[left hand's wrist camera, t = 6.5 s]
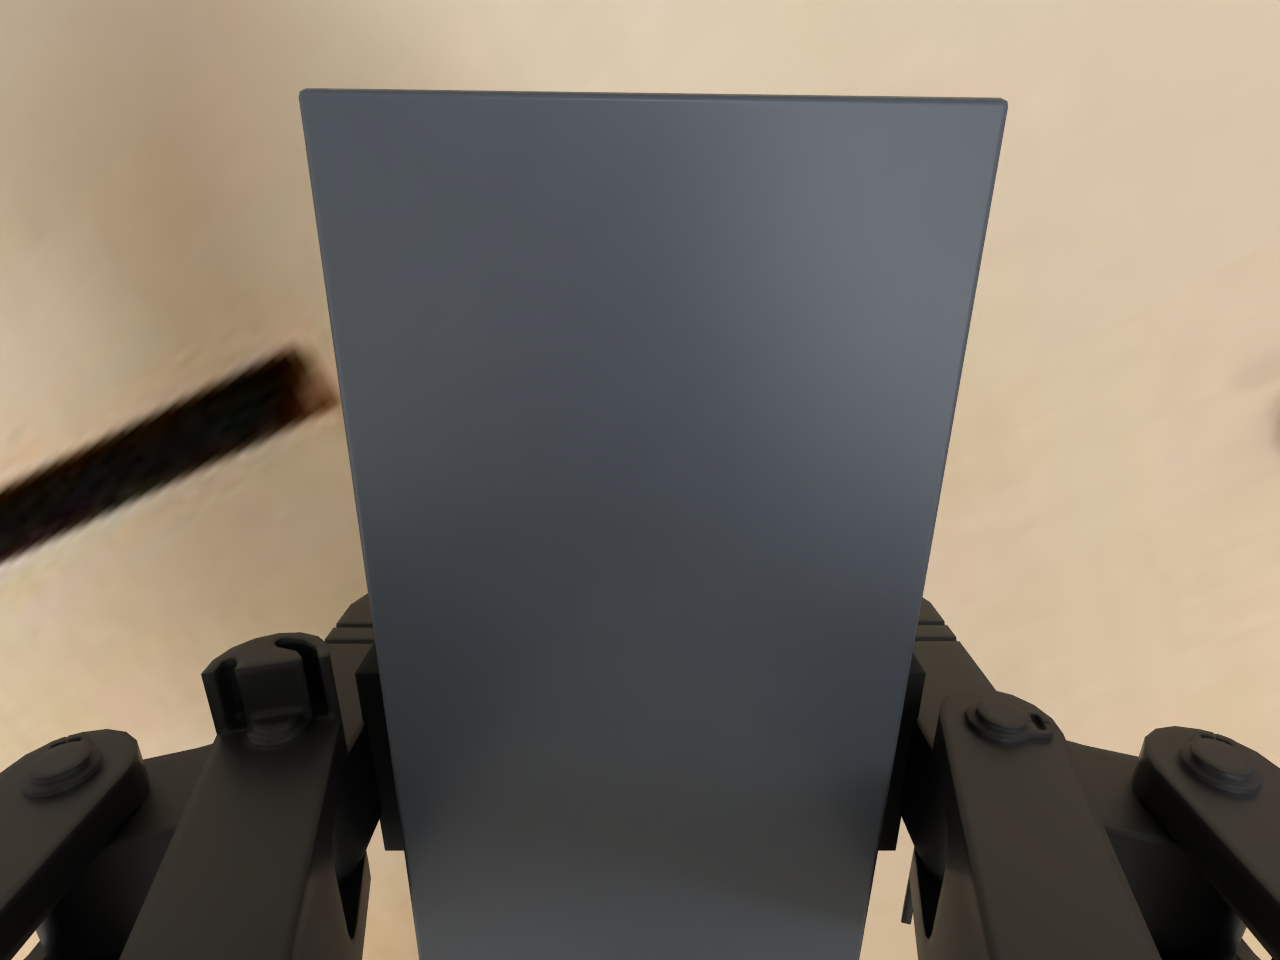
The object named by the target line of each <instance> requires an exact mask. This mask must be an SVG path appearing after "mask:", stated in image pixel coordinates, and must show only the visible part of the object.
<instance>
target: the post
mask: <svg viewBox="0 0 1280 960" xmlns="http://www.w3.org/2000/svg"><path fill="white" fill-rule="evenodd" d="M299 101H300V108H301V115H302V123H303V130H304V137H305V144H306V151H307V158H308V166H309V173H310V180H311V187H312V194H313V201H314V208H315V216H316V223H317V230H318V237H319V244H320V251H321V259H322V266H323V273H324V280H325V287H326V294H327V301H328V309H329V316H330V323H331V330H332V337H333V344H334V352H335V359H336V366H337V373H338V380H339V387H340V394H341V402H342V409H343V416H344V423H345V430H346V437H347V445H348V452H349V459H350V466H351V473H352V480H353V487H354V495H355V502H356V509H357V516H358V523H359V530H360V538H361V545H362V552H363V559H364V566H365V573H366V580H367V588H368V595H369V602H370V609H371V616H372V623H373V631H374V638H375V645H376V652H377V659H378V666H379V673H380V681H381V688H382V695H383V702H384V709H385V716H386V724H387V731H388V738H389V745H390V752H391V759H392V767H393V774H394V781H395V788H396V795H397V802H398V809H399V817H400V824H401V831H402V838H403V845H404V852H405V860H406V867H407V874H408V881H409V888H410V895H411V902H412V910H413V917H414V924H415V931H416V938H417V945H418V953H419V960H859V957H860V951H861V945H862V940H863V934H864V928H865V923H866V917H867V911H868V905H869V900H870V894H871V888H872V882H873V877H874V871H875V865H876V860H877V854H878V848H879V842H880V837H881V831H882V825H883V819H884V814H885V808H886V802H887V797H888V791H889V785H890V779H891V774H892V768H893V762H894V756H895V751H896V745H897V739H898V734H899V728H900V722H901V716H902V711H903V705H904V699H905V693H906V688H907V682H908V676H909V670H910V665H911V659H912V653H913V648H914V642H915V636H916V630H917V625H918V619H919V613H920V607H921V602H922V596H923V590H924V585H925V579H926V573H927V567H928V562H929V556H930V550H931V544H932V539H933V533H934V527H935V522H936V516H937V510H938V504H939V499H940V493H941V487H942V481H943V476H944V470H945V464H946V459H947V453H948V447H949V441H950V436H951V430H952V424H953V418H954V413H955V407H956V401H957V396H958V390H959V384H960V378H961V373H962V367H963V361H964V355H965V350H966V344H967V338H968V333H969V327H970V321H971V315H972V310H973V304H974V298H975V292H976V287H977V281H978V275H979V270H980V264H981V258H982V252H983V247H984V241H985V235H986V229H987V224H988V218H989V212H990V206H991V201H992V195H993V189H994V184H995V178H996V172H997V166H998V161H999V155H1000V149H1001V143H1002V138H1003V132H1004V126H1005V121H1006V115H1007V109H1008V104H1007V101H1006V100H1004V99H1002V98H972V97H900V96H827V95H754V94H682V93H609V92H536V91H464V90H391V89H319V88H306V89H304V90H302V91H300V93H299Z"/></svg>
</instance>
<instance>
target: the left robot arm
mask: <svg viewBox="0 0 1280 960" xmlns="http://www.w3.org/2000/svg"><path fill="white" fill-rule="evenodd" d="M201 676H202V680H203V683H204V687H205V691H206V695H207V698H208V702H209V706H210V710H211V714H212V717H213V721H214V725H215V729H216V733H217V736H216V738H215V740H214V743H213V744H210V745H207V746H203V747H200V748H196V749H191V750H186V751H182V752H177V753H172V754H168V755H163V756H158V757H153V758H149V759H144V760H143V759H142V756H141V752H140V749H139V746H138V743H137V740H136V739H134V738H133V737H132V736H131V735H129V734H128V733H127V732H124V731H117V730H110V729H104V730H96V731H88V732H81V733H78V734H74V735H69V736H68V737H63V738H60V739H58V740H55V741H52V742H50V743H48V744H47V745H45V746H43V747H41V748H39V749H37V750H35V751H33V752H30V753H28V754H26V755H25V756H23V757H22V758H20V759H19V760H18V761H16V762H15V763H14V764H12V765H11V766H9V767H8V768H7V769H5V770H4V771H2V772H1V773H0V960H11V959H12V958H13V957H14V956H15V954H16V953H17V952H18V951H19V950H20V948H21V947H22V946H23V945H24V944H25V942H26V941H27V940H28V939H29V938H30V936H31V935H32V934H33V933H34V931H35V930H36V932H37V934H38V937H39V939H40V941H39V943H38V944H37V945H36V946H35V948H34V949H33V950H32V951H31V953H30V954H29V955H28V956H27V957H26V958H25V959H24V960H362V954H363V945H364V936H365V927H366V918H367V908H368V899H369V890H370V881H371V876H370V869H369V863H368V857H367V852H366V849H367V847H368V844H369V842H370V840H371V837H372V835H373V833H374V830H375V828H376V826H377V823H378V821H379V819H380V823H381V829H382V835H383V841H384V847H385V850H404V845H403V838H402V831H401V824H400V817H399V809H398V802H397V795H396V788H395V781H394V774H393V767H392V759H391V752H390V745H389V738H388V731H387V724H386V716H385V709H384V702H383V695H382V688H381V681H380V673H379V666H378V659H377V652H376V645H375V638H374V631H373V623H372V616H371V609H370V602H369V595H368V594H366V595H365V596H363V597H362V598H360V599H359V600H357V601H356V602H354V603H353V604H351V605H350V606H349V608H348V609H347V611H346V612H345V613H344V615H343V616H342V617H341V619H340V620H339V621H338V623H337V627H336V628H333V629H332V631H331V632H330V633H329V635H328V636H327V637H326V639H325V642H324V641H323V640H322V639H321V638H319V637H318V636H314V635H310V634H305V633H278V634H273V635H269V636H264V637H260V638H255V639H253V640H250V641H248V642H245V643H243V644H240V645H238V646H235V647H233V648H231V649H229V650H228V651H226V652H225V653H223V654H222V655H220V656H219V657H217V658H216V659H214V660H213V661H212V662H211V663H210V664H209V665H208V667H207V668H206V669H205V670H204V671H203V672H202V674H201ZM901 816H902V818H903V821H904V823H905V825H906V828H907V830H908V832H909V835H910V837H911V839H912V842H913V844H914V852H913V857H912V863H911V868H910V873H909V879H908V884H907V890H906V895H905V901H904V906H903V913H902V919H901V922H902V923H906V924H911V919H912V914H913V916H914V925H915V934H916V943H917V952H918V960H1261V959H1260V958H1259V957H1257V956H1256V955H1255V954H1254V952H1253V951H1252V950H1251V949H1250V948H1249V946H1248V945H1247V944H1246V943H1245V941H1244V940H1243V939H1242V936H1243V934H1244V932H1245V929H1246V927H1247V928H1248V929H1249V930H1250V931H1251V933H1252V934H1253V935H1254V936H1255V937H1256V939H1257V940H1258V941H1259V942H1260V943H1261V945H1262V946H1263V947H1264V948H1265V949H1266V951H1267V952H1268V953H1269V954H1270V955H1271V957H1272V959H1271V960H1280V768H1278V767H1277V766H1276V765H1274V764H1273V763H1271V762H1270V761H1269V760H1267V759H1266V758H1264V757H1263V756H1262V755H1260V754H1259V753H1257V752H1256V751H1254V750H1252V749H1250V748H1248V747H1245V746H1243V745H1241V744H1239V743H1237V742H1235V741H1234V740H1232V739H1230V738H1227V737H1225V736H1222V735H1219V734H1213V732H1208V731H1204V730H1201V729H1193V728H1186V727H1178V726H1172V727H1165V728H1158V729H1155V730H1154V731H1152V732H1151V733H1150V734H1149V735H1147V736H1146V737H1145V739H1144V742H1143V745H1142V748H1141V752H1140V755H1139V757H1137V756H1132V755H1127V754H1123V753H1118V752H1113V751H1108V750H1104V749H1099V748H1094V747H1090V746H1085V745H1081V744H1078V743H1074V742H1070V741H1067V740H1066V739H1065V737H1064V735H1063V733H1062V732H1061V730H1060V729H1059V727H1058V726H1057V725H1056V723H1055V722H1054V721H1053V719H1052V718H1051V717H1049V716H1048V715H1047V714H1045V713H1044V712H1043V711H1041V710H1040V709H1039V708H1037V707H1036V706H1035V705H1033V704H1031V703H1028V702H1026V701H1024V700H1022V699H1020V698H1018V697H1015V696H1013V695H1010V694H1006V693H1002V692H998V691H996V690H995V688H994V687H993V686H992V684H991V683H990V682H989V680H988V679H987V678H986V676H985V675H984V674H983V672H982V671H981V670H980V668H979V667H978V666H977V664H976V663H975V662H974V660H973V659H972V658H971V656H970V655H969V654H968V652H967V651H966V650H965V648H964V647H963V646H962V644H961V643H960V642H959V641H956V636H955V635H954V634H953V632H952V631H951V630H950V628H949V627H948V626H947V625H945V624H944V620H943V619H942V618H941V616H940V615H939V614H938V612H937V611H936V610H935V608H934V607H933V606H932V604H931V603H930V602H929V601H927V600H926V599H924V598H923V597H922V602H921V607H920V613H919V619H918V625H917V630H916V636H915V642H914V648H913V653H912V659H911V665H910V670H909V676H908V682H907V688H906V693H905V699H904V705H903V711H902V716H901V722H900V728H899V734H898V739H897V745H896V751H895V756H894V762H893V768H892V774H891V779H890V785H889V791H888V797H887V802H886V808H885V814H884V819H883V825H882V831H881V837H880V842H879V848H878V850H896V844H897V838H898V833H899V827H900V821H901Z"/></svg>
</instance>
